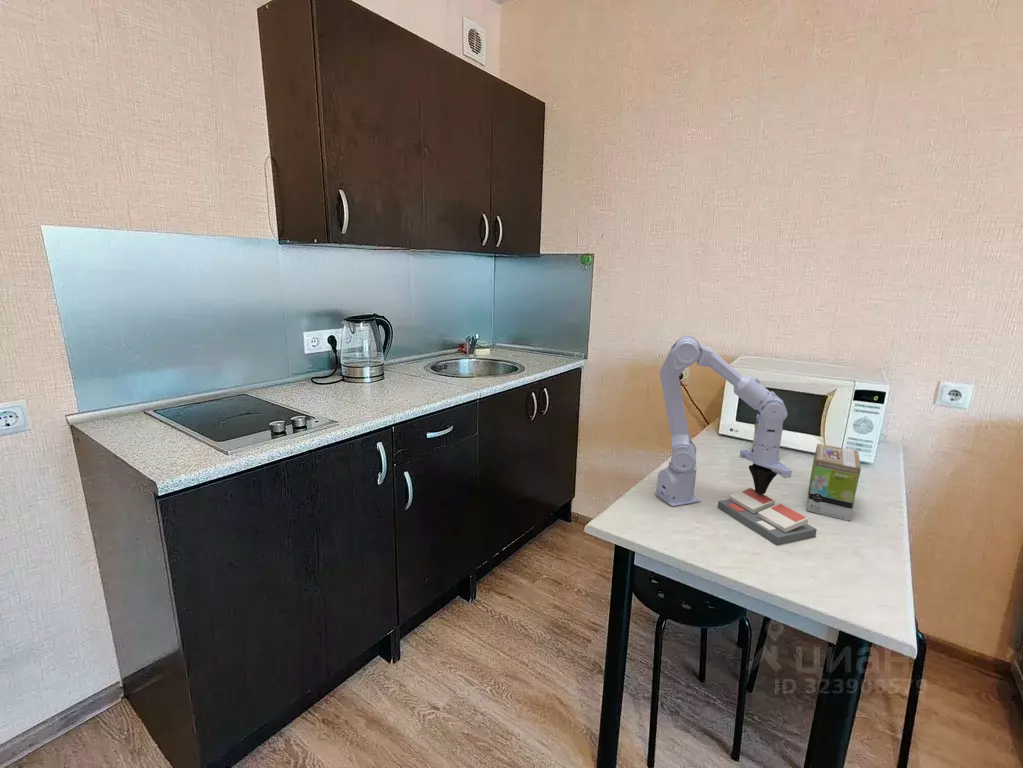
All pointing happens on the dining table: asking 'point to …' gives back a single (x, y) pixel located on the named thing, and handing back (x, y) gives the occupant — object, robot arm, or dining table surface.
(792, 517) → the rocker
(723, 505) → the switch panel
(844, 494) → the tea box
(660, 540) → the dining table surface
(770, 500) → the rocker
